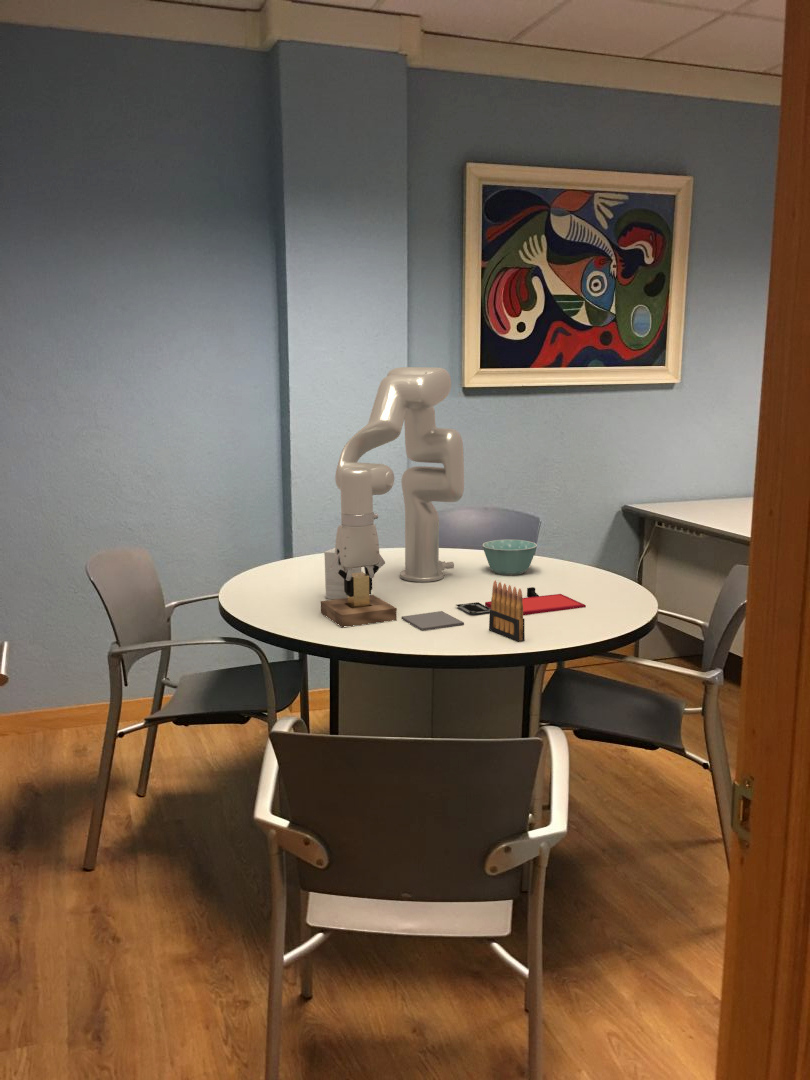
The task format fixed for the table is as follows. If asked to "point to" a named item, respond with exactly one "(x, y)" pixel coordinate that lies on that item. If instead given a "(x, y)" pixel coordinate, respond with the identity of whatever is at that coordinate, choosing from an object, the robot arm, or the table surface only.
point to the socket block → (358, 612)
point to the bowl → (509, 555)
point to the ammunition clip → (507, 612)
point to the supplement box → (334, 577)
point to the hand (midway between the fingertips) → (358, 593)
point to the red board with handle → (531, 604)
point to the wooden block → (359, 591)
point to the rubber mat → (432, 620)
